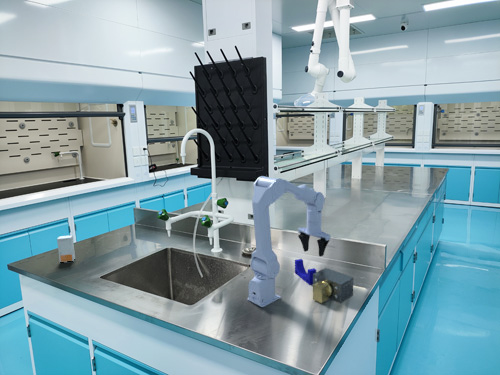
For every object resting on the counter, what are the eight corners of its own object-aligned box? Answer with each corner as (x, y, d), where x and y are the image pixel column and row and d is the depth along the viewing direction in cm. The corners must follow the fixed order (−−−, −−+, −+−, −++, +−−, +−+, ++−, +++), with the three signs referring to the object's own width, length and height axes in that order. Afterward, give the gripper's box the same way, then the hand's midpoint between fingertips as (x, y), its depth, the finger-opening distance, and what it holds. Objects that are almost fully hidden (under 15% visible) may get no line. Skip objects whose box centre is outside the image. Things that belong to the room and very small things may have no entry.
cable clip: (319, 283, 136) (319, 269, 135) (309, 285, 135) (309, 271, 134) (304, 271, 147) (304, 258, 146) (294, 273, 146) (294, 260, 145)
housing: (339, 303, 120) (340, 285, 119) (311, 292, 129) (311, 274, 128) (353, 295, 126) (353, 277, 125) (325, 284, 135) (325, 267, 133)
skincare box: (59, 263, 162) (56, 239, 160) (61, 260, 166) (58, 236, 164) (73, 261, 164) (70, 237, 161) (75, 258, 168) (72, 234, 165)
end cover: (324, 304, 119) (324, 288, 118) (310, 298, 123) (311, 283, 122) (340, 293, 126) (341, 279, 125) (327, 288, 130) (328, 274, 129)
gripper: (335, 222, 135) (334, 255, 138) (305, 215, 146) (305, 246, 148) (324, 226, 131) (324, 260, 133) (294, 219, 141) (294, 250, 143)
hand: (313, 253), depth 140 cm, fingers open, 7 cm apart
